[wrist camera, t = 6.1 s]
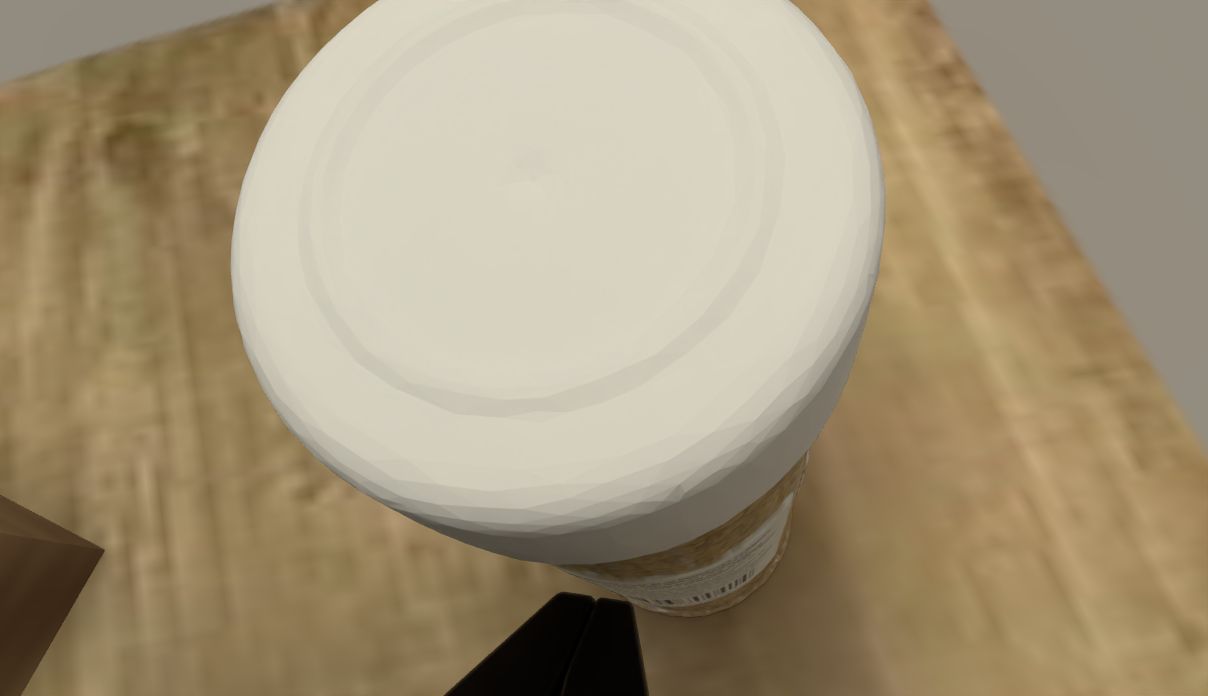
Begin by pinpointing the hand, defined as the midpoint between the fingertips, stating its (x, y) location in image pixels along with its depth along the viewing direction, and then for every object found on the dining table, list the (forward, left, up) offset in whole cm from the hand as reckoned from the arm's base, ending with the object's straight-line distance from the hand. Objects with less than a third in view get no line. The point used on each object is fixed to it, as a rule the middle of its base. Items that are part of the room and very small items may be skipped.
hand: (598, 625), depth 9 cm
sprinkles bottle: (+2, +1, -9) cm, 9 cm away
